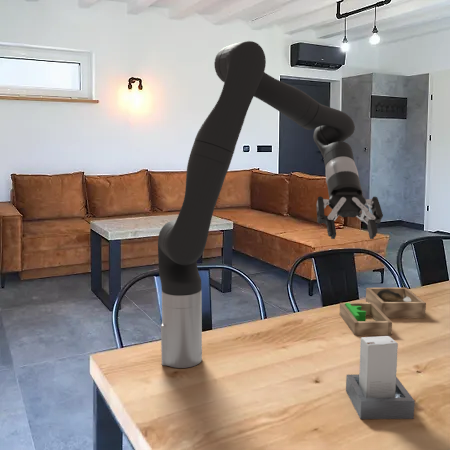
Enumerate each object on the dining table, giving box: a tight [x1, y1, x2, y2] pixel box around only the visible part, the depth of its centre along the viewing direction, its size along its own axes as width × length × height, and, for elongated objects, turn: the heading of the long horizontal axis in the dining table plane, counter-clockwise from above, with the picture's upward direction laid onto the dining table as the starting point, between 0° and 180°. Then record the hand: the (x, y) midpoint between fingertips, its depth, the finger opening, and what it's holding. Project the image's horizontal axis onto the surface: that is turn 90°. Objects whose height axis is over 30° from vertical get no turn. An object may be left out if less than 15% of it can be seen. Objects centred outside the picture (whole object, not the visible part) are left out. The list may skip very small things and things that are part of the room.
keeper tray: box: [345, 373, 416, 420], centre depth 101 cm, size 10×11×4 cm
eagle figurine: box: [377, 290, 411, 302], centre depth 156 cm, size 8×7×9 cm
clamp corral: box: [339, 302, 393, 336], centre depth 146 cm, size 10×17×4 cm, turn 1°
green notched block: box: [344, 302, 367, 321], centre depth 146 cm, size 11×4×5 cm, turn 1°
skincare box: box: [359, 335, 399, 398], centre depth 100 cm, size 6×4×12 cm
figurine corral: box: [365, 287, 427, 319], centre depth 158 cm, size 13×16×4 cm
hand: (353, 237), depth 112 cm, fingers open, 8 cm apart
